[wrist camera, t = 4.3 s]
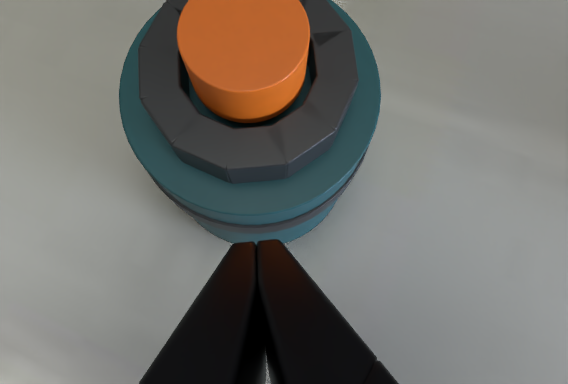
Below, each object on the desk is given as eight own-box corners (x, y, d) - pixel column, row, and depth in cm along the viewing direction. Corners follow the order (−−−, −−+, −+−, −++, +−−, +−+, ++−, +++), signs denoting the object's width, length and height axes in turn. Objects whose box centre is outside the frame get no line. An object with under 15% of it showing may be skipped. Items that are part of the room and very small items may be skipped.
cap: (331, 218, 22) (370, 156, 13) (198, 231, 22) (140, 177, 12) (316, 96, 23) (341, -38, 14) (192, 107, 23) (135, -23, 14)
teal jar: (382, 185, 22) (438, 123, 14) (231, 285, 21) (205, 275, 13) (284, 51, 24) (287, -69, 16) (139, 137, 23) (67, 51, 15)
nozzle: (311, 118, 13) (317, 86, 11) (193, 128, 13) (179, 97, 11) (299, 15, 14) (302, -32, 12) (188, 24, 14) (173, -22, 12)
